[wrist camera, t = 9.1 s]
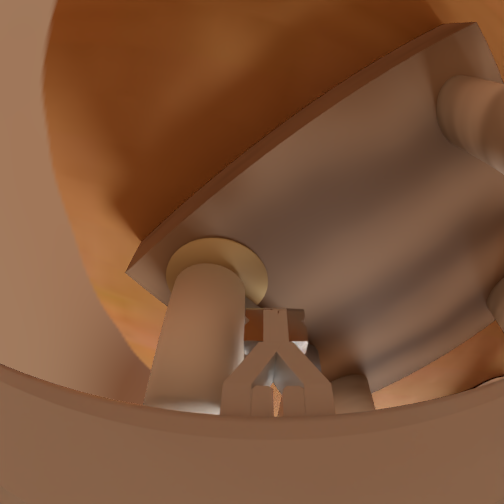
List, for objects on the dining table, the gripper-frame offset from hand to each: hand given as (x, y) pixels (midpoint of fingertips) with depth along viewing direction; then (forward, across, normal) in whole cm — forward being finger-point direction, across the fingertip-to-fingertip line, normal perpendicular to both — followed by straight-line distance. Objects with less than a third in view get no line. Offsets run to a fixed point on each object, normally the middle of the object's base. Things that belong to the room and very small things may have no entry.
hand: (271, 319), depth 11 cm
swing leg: (+4, -1, -4) cm, 6 cm away
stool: (+7, +8, -2) cm, 11 cm away
